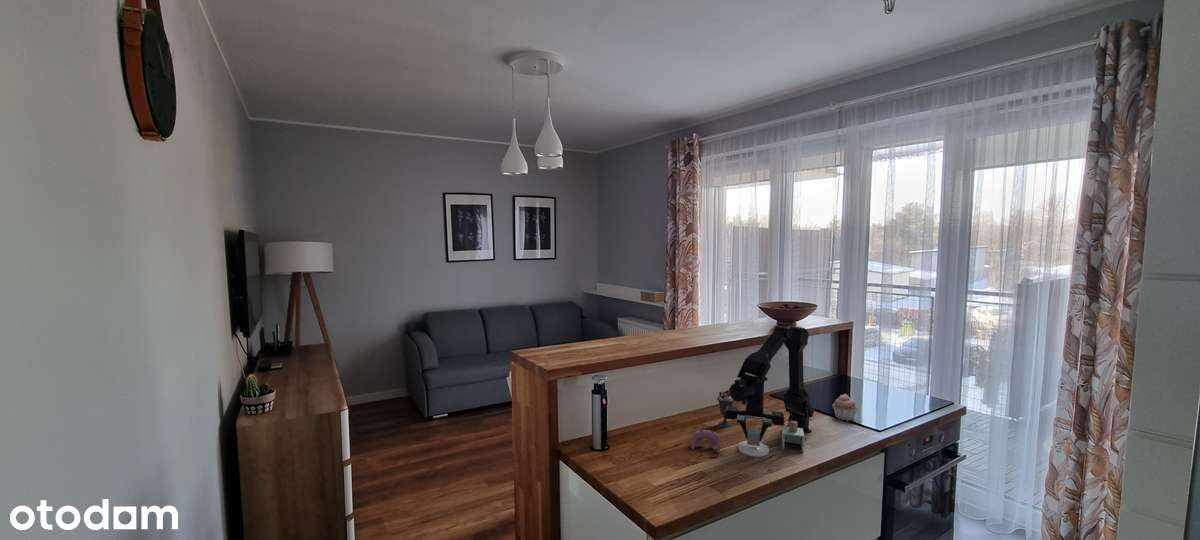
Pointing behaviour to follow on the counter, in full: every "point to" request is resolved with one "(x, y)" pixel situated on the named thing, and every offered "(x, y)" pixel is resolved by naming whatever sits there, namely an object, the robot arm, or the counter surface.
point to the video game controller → (706, 434)
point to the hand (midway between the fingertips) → (753, 440)
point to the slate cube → (753, 437)
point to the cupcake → (845, 408)
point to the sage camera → (793, 434)
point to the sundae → (724, 406)
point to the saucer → (753, 449)
